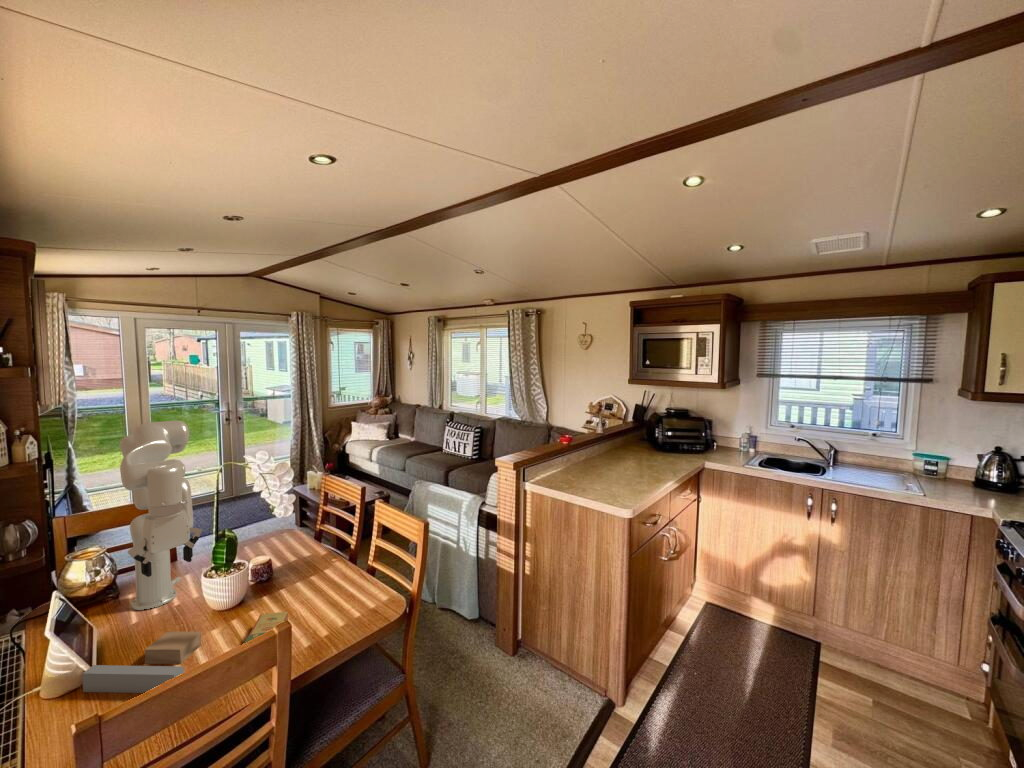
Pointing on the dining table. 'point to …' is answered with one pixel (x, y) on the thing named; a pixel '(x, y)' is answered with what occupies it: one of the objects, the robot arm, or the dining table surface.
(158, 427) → the robot arm
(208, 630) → the dining table surface
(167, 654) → the walnut block
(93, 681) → the board
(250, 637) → the carton
